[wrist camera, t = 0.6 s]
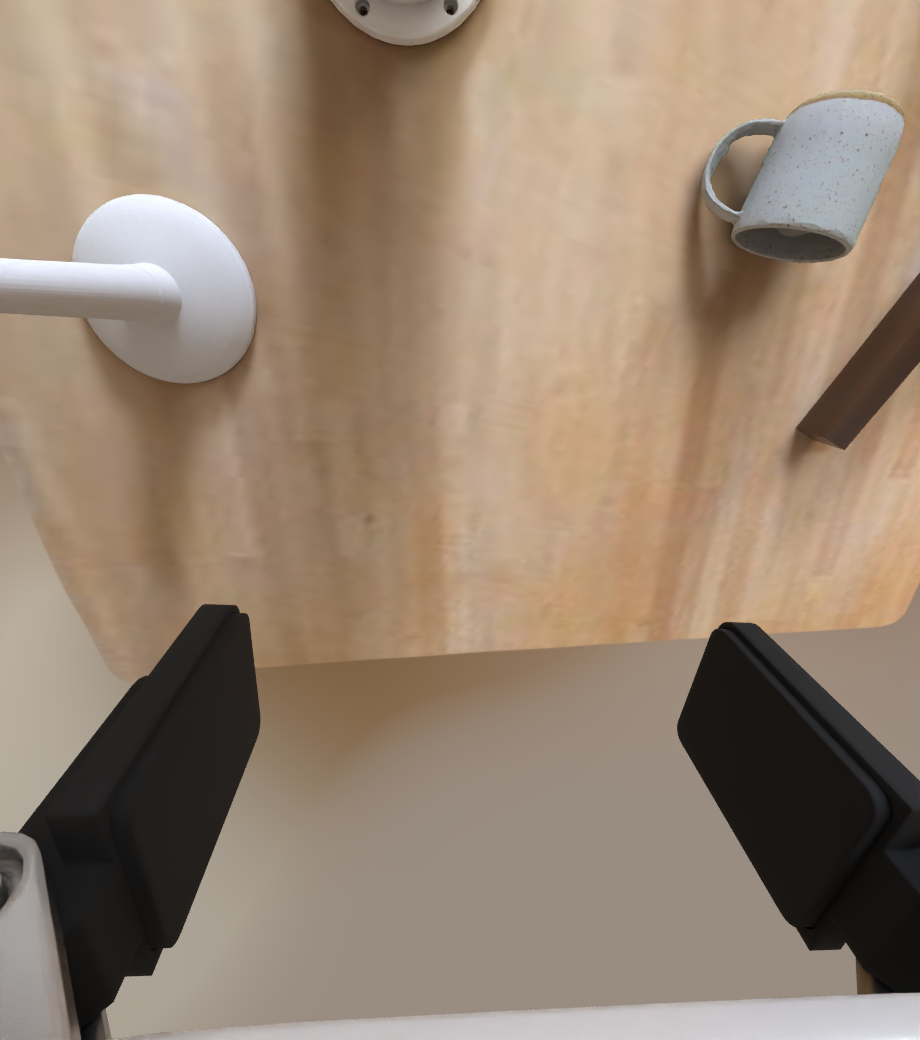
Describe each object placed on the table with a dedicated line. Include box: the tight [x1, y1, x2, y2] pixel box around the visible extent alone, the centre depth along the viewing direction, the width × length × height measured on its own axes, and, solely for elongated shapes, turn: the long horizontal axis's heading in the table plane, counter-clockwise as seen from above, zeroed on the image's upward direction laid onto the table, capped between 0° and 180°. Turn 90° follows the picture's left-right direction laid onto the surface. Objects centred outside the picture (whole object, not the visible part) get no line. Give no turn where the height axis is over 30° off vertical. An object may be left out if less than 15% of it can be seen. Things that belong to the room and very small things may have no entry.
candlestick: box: [0, 194, 257, 383], centre depth 22 cm, size 13×13×30 cm
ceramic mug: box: [701, 89, 905, 263], centre depth 32 cm, size 11×8×8 cm
